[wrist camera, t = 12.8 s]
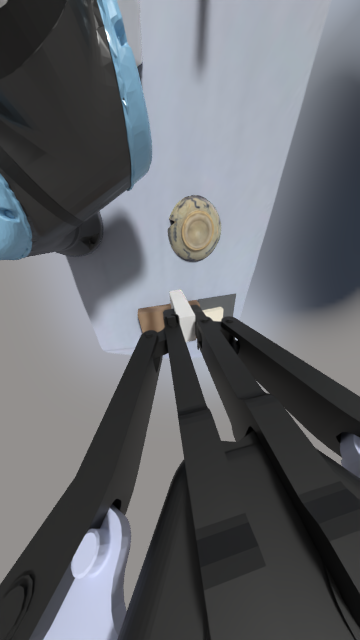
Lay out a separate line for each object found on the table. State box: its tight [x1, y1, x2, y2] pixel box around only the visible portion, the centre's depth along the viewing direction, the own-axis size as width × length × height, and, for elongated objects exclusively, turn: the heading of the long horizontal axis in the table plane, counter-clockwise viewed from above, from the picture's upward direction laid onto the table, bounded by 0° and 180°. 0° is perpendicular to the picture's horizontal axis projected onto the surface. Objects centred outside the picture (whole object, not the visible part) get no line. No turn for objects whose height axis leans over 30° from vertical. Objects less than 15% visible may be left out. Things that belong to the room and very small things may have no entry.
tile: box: [202, 307, 223, 321], centre depth 51 cm, size 9×6×2 cm, turn 97°
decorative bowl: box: [168, 195, 221, 261], centre depth 36 cm, size 15×4×15 cm
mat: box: [198, 294, 236, 317], centre depth 52 cm, size 14×14×1 cm
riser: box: [138, 300, 200, 338], centre depth 49 cm, size 20×14×4 cm
